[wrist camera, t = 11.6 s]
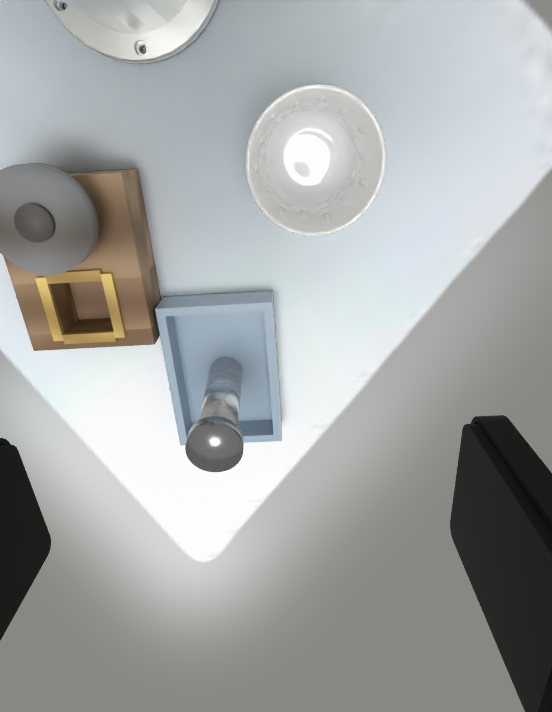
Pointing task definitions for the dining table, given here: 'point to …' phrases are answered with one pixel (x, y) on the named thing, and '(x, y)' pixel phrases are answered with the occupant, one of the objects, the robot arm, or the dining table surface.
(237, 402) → the lock pin
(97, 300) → the block
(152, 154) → the dining table surface
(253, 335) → the tray
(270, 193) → the white cup
